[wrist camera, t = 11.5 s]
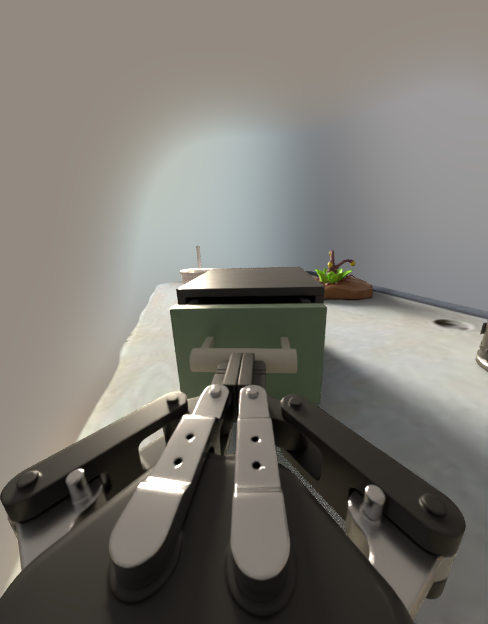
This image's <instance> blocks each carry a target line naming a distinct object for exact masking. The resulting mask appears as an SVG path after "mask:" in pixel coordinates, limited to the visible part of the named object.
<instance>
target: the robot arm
mask: <svg viewBox="0 0 488 624" xmlns="http://www.w3.org/2000/svg"><path fill="white" fill-rule="evenodd" d="M483 333H484V336H483V339H482V341H481V344H480V349H479V350H478V352H477V355H476V362H477V363H478V364H479V365H480V366H481V367H482V368H483V369H485V370H486V371H488V322H487V323H483V326H482V330H481V333H480V334H483ZM233 422H237V436H236V454H231V455H226V454H227V450H228V447H229V443H230V439H231V435H232V431H231V429H232V425H233ZM162 427H163V432H164V434H163V435H162V436H160V437H159V438H157V439H156V440H154V441H153V442H151V443H150V444H148V445H147V446H145V447H144V448H142V449H141V450H138V448H139V445H140V443H141V442H142V441H143V440H144V439H145V438H147V437H148V436H150V435H151V434H153V433H154V432H156V431H158V430H159V429H161V428H162ZM275 446H278V447H280V450H281V453H282V454H283V456H284V457H285V458H286V459H287V460H288V461H289V462H290V463H291V464H292V465H293V466H294V467H295V468H296V469H297V471H298V472H299V473H300V474H301V475H302V476H303V477H304V478H305V479H306V480H307V481H308V482H309V483H310V484H311V485H312V486H313V487H314V489H315V490H316V491H317V492H318V493H319V494H320V495H321V496H322V497H323V498H324V499H325V500H326V501H327V502H328V503H329V504H330V505H331V507H332V508H333V509H334V510H335V511H336V512H337V513H338V514H339V515H340V516H341V517H342V518H343V519H344V520H345V521H346V526H345V527H346V532H347V534H346V533H345V532H344V531H343V530H342V529H341V527H340V526H339V525H338V524H337V523H336V522H335V521H334V519H333V518H332V517H331V516H330V515H329V514H328V512H327V511H326V510H325V509H324V508H323V507H322V505H321V504H320V503H319V502H318V501H317V500H316V498H315V497H314V496H313V495H312V494H311V493H310V491H309V490H308V489H307V488H306V487H305V486H304V484H303V483H302V482H301V481H300V480H299V479H298V478H297V477H296V475H295V474H293V473H292V472H291V471H290V470H289V469H287V468H286V467H284V466H283V465H281V464H279V463H277V456H276V449H275ZM0 500H1V502H2V504H3V506H4V508H5V510H6V512H7V514H8V520H9V522H10V525H11V527H12V529H13V531H14V533H15V535H16V537H17V539H18V544H19V552H20V561H21V569H22V571H21V573H20V574H19V575H18V576H17V577H16V578H15V579H14V581H13V582H12V583H11V584H10V586H9V587H8V588H7V590H6V591H5V593H4V594H3V595H2V597H1V598H0V624H414V622H413V621H414V619H415V617H416V615H417V613H418V611H419V610H420V608H421V606H422V604H423V602H424V600H425V598H427V599H436V598H438V597H439V596H440V595H441V594H442V591H443V589H444V586H445V583H446V580H447V578H448V575H449V572H450V570H451V567H452V564H453V561H454V559H455V556H456V553H457V550H458V548H459V545H460V542H461V540H462V537H463V534H464V531H465V527H466V525H465V520H464V517H463V515H462V513H461V512H460V510H459V509H458V507H457V506H456V505H455V504H454V503H453V502H452V501H451V500H450V499H449V498H448V497H447V496H445V495H444V494H443V493H441V492H440V491H438V490H437V489H436V488H434V487H433V486H431V485H430V484H428V483H427V482H425V481H424V480H423V479H421V478H420V477H418V476H417V475H415V474H414V473H412V472H411V471H410V470H408V469H407V468H405V467H404V466H402V465H401V464H400V463H398V462H397V461H395V460H394V459H392V458H391V457H389V456H388V455H387V454H385V453H384V452H382V451H381V450H379V449H378V448H376V447H375V446H374V445H372V444H371V443H369V442H368V441H366V440H365V439H364V438H362V437H361V436H359V435H358V434H356V433H355V432H353V431H352V430H351V429H349V428H348V427H346V426H345V425H343V424H342V423H340V422H339V421H338V420H336V419H335V418H333V417H332V416H330V415H329V414H327V413H326V412H325V411H323V410H322V409H320V408H319V407H317V406H316V405H315V404H313V403H312V402H310V401H309V400H307V399H306V398H304V397H302V396H300V395H287V396H285V397H283V398H282V400H278V399H275V398H273V397H271V396H270V395H269V394H268V393H267V391H266V364H265V363H264V362H263V361H255V353H231V355H230V359H229V360H223V361H222V362H220V363H219V364H218V367H217V370H216V372H215V375H214V378H213V380H212V383H211V385H210V386H208V387H207V388H205V389H204V391H203V392H202V394H201V396H199V397H196V398H191V399H187V396H186V394H185V393H183V392H171V393H168V394H166V395H164V396H162V397H160V398H158V399H157V400H155V401H153V402H151V403H149V404H147V405H145V406H143V407H142V408H140V409H138V410H136V411H134V412H132V413H130V414H128V415H127V416H125V417H123V418H121V419H119V420H117V421H115V422H114V423H112V424H110V425H108V426H106V427H104V428H102V429H100V430H99V431H97V432H95V433H93V434H91V435H89V436H87V437H86V438H84V439H82V440H80V441H78V442H76V443H74V444H72V445H71V446H69V447H67V448H65V449H63V450H61V451H59V452H58V453H56V454H54V455H52V456H50V457H48V458H47V459H44V460H43V461H41V462H39V463H37V464H35V465H33V466H31V467H30V468H28V469H26V470H24V471H22V472H21V473H19V474H18V475H16V476H15V477H14V478H13V479H12V480H11V481H10V482H9V483H8V484H7V485H6V486H5V487H4V489H3V490H2V492H1V495H0ZM347 535H348V536H347Z"/></svg>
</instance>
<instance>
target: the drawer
mask: <svg viewBox="0 0 488 624" xmlns="http://www.w3.org/2000/svg"><path fill="white" fill-rule="evenodd" d="M326 314H327V307H326V306H325V305H324V304H323V303H311V301H310V300H309V298H308V297H307V296H238V297H195V298H193V299H192V300H191V301H190V302H189V303H188V305H174V306H173V307H172V308H170V315H171V323H172V330H173V337H174V345H175V352H176V360H177V367H178V375H179V382H180V390H181V392H183V393H185V394H186V396H187V399H191V398H196V397H199V396H201V394H202V392H203V391H204V389H205V388H207V387H208V386H210V385H211V383H212V380H213V378H214V375H215V372H216V370H217V367H218V364H219V363H220V362H222V361H223V360H229V359H230V355H231V353H255V361H263V362H264V363H265V364H266V391H267V393H268V394H269V395H270V396H271V397H273V398H275V399H278V400H282V398H283V397H285V396H287V395H300V396H302V397H304V398H306V399H307V400H309V401H310V402H312V403H313V404H320V397H321V383H322V369H323V356H324V342H325V328H326Z"/></svg>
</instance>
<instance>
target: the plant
mask: <svg viewBox="0 0 488 624" xmlns="http://www.w3.org/2000/svg"><path fill="white" fill-rule="evenodd" d="M329 256H331V261H330V262H329V263H328V267H329V268H328V269H326V268H324V272H322V271H321V270H317V269H315V270H316V271H317V273H318V275H319V277H320V278H318V277H317V278H314V279H316V280H317V281H318V282H319V283H321V284H322V285H323V286H325V292H324V299H350V300H355V299H364V298H370V297H372V293H373V289H372V285H370V284H368V283H366V282H365V281H363V280H361V279H357V278H355V277H354V276H353V275H349V276H347V275H348V274H349V273H351V271H352V270H350V271H347V272H346V271H345V272H342V268H341V269H338V267H339V266H340V265H342V264H343V263H344V262H349V263H350V265H351V266H355V261H353V260H349V259H348V260H343V261H342V262H340V263H339V264H338V265H336V266H335V263H334V251H333V250H331V251H330V252H329ZM350 276H353V277H354V278H353V277H350Z"/></svg>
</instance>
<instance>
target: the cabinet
mask: <svg viewBox="0 0 488 624" xmlns="http://www.w3.org/2000/svg"><path fill="white" fill-rule="evenodd" d="M176 291H177V297H178V298H177V299H178V305H188V303H189V302H190V301H191V300H192V299H193V298H195V297H238V296H307V297H308V298H309V300H310V301H311V303H323V304H324V292H325V286H323V285H322V284H321V283H319V282H318V281H317V280H316V279H314V278H313V277H312V276H311V275H309V274H308V273H307V272H306V271H304V270H303V269H302V268H300V267H271V268H232V269H211V270H209V271H208V272H206V273H204V274H202V275H201V276H199V277H197V278H195V279H194V280H192V281H190V282H188V283H187V284H185V285H183V286H181V287H180V288H178V289H176Z"/></svg>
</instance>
